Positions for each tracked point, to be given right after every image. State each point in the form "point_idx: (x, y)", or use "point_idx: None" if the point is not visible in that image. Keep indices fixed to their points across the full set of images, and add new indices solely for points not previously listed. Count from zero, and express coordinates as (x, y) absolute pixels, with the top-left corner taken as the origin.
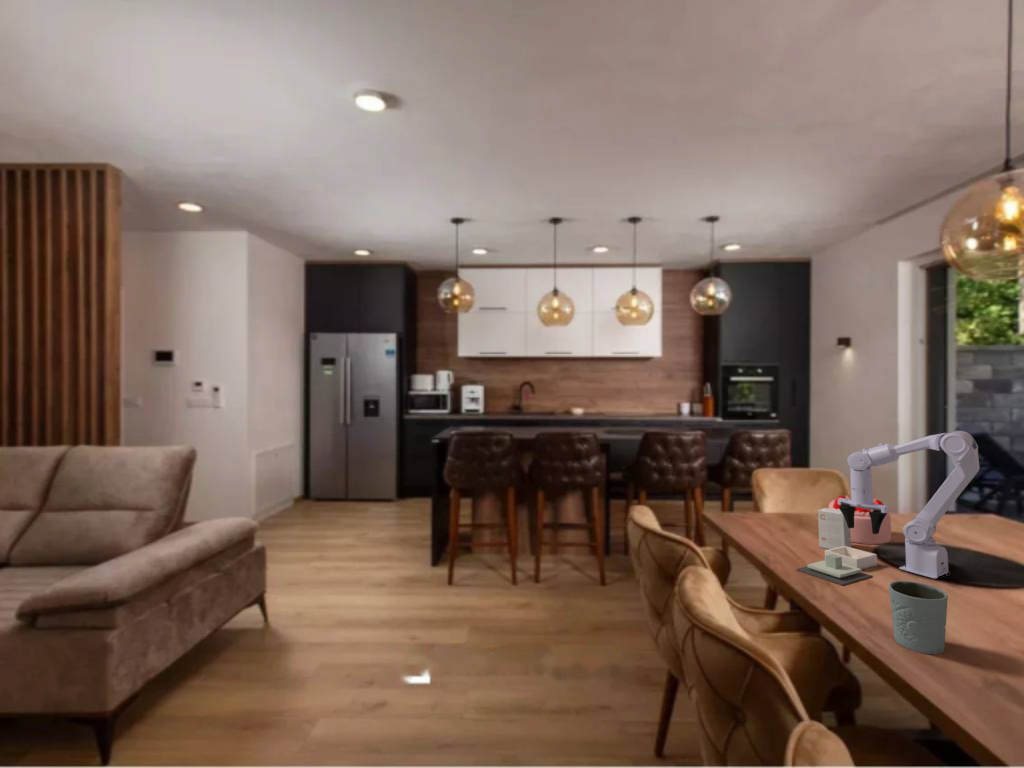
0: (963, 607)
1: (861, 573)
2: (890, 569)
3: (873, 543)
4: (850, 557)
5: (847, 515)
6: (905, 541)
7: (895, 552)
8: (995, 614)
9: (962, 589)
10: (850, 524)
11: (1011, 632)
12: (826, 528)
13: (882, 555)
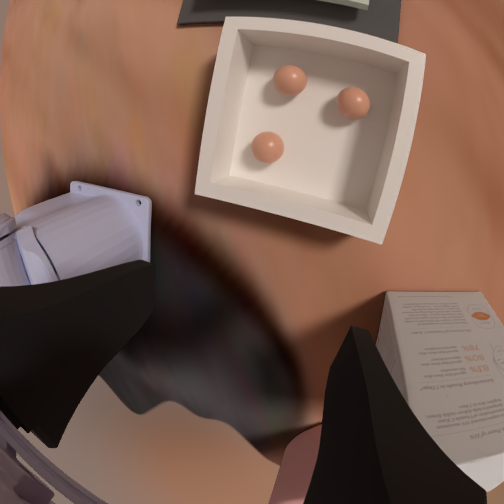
0: (28, 50)
1: (213, 9)
2: (170, 173)
3: (316, 427)
4: (262, 22)
5: (370, 428)
6: (53, 256)
7: (242, 387)
8: (8, 72)
9: (38, 156)
10: (347, 361)
11: (5, 30)
12: (490, 357)
13: (258, 340)
